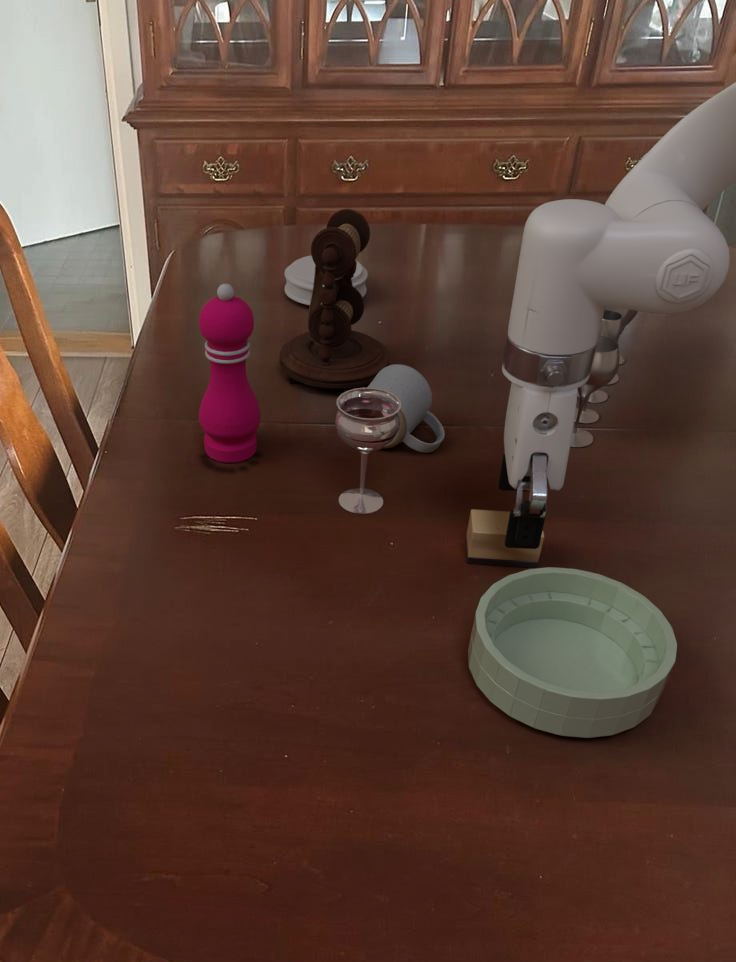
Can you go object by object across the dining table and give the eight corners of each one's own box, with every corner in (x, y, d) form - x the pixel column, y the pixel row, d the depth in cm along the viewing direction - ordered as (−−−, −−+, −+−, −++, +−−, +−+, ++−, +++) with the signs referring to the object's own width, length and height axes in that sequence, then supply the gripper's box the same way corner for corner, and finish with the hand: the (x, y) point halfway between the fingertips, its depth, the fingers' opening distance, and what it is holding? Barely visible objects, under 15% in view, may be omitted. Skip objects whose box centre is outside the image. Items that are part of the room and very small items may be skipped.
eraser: (533, 544, 97) (540, 513, 94) (536, 568, 94) (544, 536, 91) (465, 540, 97) (471, 508, 95) (466, 563, 94) (472, 532, 92)
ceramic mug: (345, 444, 111) (350, 386, 106) (371, 413, 117) (377, 356, 111) (429, 466, 108) (438, 408, 103) (451, 434, 113) (461, 376, 108)
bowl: (640, 619, 88) (656, 574, 84) (675, 752, 76) (696, 707, 72) (463, 605, 90) (472, 561, 86) (470, 734, 78) (480, 689, 74)
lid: (304, 274, 150) (305, 242, 146) (377, 287, 145) (380, 255, 142) (270, 304, 141) (270, 271, 138) (347, 318, 137) (349, 285, 134)
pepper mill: (195, 463, 109) (185, 296, 95) (206, 432, 114) (197, 269, 100) (256, 467, 108) (254, 299, 94) (264, 435, 113) (263, 272, 100)
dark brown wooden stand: (298, 341, 132) (301, 192, 118) (399, 356, 128) (415, 205, 115) (264, 388, 122) (264, 232, 108) (373, 406, 118) (387, 247, 104)
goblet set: (590, 347, 130) (614, 251, 120) (632, 355, 128) (660, 258, 119) (544, 443, 111) (568, 338, 102) (592, 454, 109) (622, 348, 100)
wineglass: (320, 491, 104) (325, 394, 96) (374, 478, 106) (383, 382, 98) (346, 524, 100) (353, 425, 91) (402, 510, 101) (413, 412, 93)
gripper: (607, 407, 74) (565, 573, 86) (580, 315, 86) (547, 471, 98) (511, 404, 75) (483, 569, 87) (498, 313, 87) (475, 468, 99)
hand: (517, 516), depth 92 cm, fingers open, 9 cm apart
